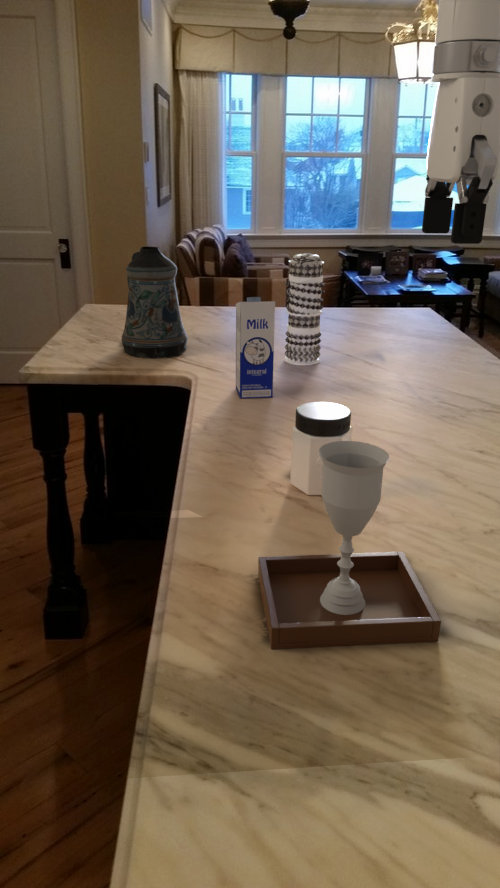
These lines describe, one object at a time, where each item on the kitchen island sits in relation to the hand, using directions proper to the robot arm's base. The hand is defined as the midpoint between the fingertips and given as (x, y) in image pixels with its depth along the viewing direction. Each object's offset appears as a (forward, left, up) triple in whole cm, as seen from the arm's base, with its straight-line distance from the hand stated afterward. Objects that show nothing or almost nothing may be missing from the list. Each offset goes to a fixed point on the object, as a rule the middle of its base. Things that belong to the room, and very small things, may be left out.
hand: (449, 237), depth 79 cm
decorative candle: (+2, -84, -38) cm, 92 cm away
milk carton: (+16, -60, -38) cm, 73 cm away
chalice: (+13, +15, -38) cm, 43 cm away
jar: (+10, -16, -38) cm, 43 cm away
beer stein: (+39, -96, -38) cm, 111 cm away
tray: (+13, +15, -38) cm, 43 cm away
